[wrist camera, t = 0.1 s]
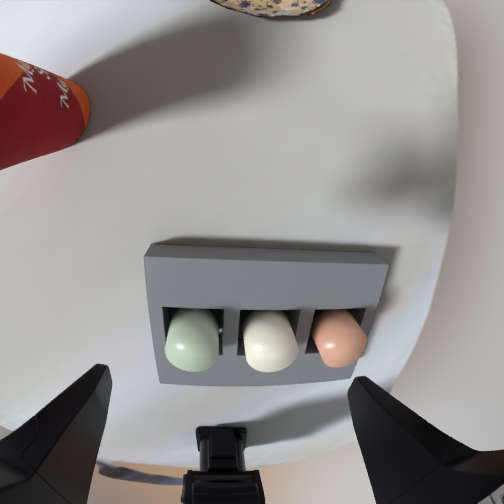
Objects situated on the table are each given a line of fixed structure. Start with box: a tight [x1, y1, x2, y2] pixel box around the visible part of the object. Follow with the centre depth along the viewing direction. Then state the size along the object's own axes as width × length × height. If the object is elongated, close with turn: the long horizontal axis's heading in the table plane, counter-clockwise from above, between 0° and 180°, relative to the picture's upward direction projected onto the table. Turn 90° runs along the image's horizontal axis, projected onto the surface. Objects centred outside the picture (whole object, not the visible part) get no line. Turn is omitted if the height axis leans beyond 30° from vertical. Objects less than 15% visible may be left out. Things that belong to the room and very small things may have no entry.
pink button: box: [311, 309, 367, 368], centre depth 23 cm, size 4×4×4 cm
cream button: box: [242, 310, 299, 372], centre depth 22 cm, size 4×4×4 cm
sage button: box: [165, 308, 219, 372], centre depth 22 cm, size 4×4×4 cm
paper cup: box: [0, 53, 90, 170], centre depth 10 cm, size 8×8×14 cm
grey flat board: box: [144, 244, 389, 386], centre depth 24 cm, size 13×19×2 cm
